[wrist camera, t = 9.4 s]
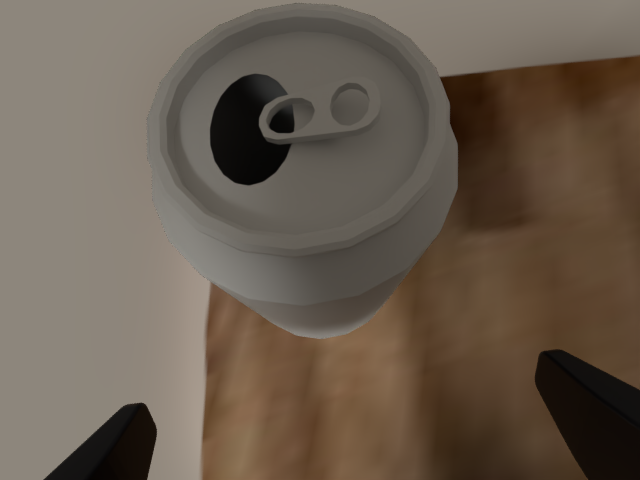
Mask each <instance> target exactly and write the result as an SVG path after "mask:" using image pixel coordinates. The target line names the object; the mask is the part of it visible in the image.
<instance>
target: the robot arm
mask: <svg viewBox="0 0 640 480" xmlns="http://www.w3.org/2000/svg"><path fill="white" fill-rule="evenodd" d="M535 384H536V387H537V389H538V391H539V393H540V395H541V397H542V399H543V401H544V402H545V404H546V406H547V408H548V410H549V412H550V414H551V416H552V417H553V419H554V421H555V423H556V425H557V427H558V429H559V431H560V433H561V434H562V436H563V438H564V440H565V442H566V444H567V446H568V447H569V449H570V451H571V453H572V455H573V456H574V458H575V460H576V461H577V463H578V464H579V466H580V468H581V469H582V471H583V472H584V474H585V475H586V477H587V478H588V480H640V390H639V389H637V388H635V387H633V386H631V385H629V384H627V383H625V382H623V381H621V380H619V379H617V378H616V377H614V376H612V375H610V374H608V373H606V372H604V371H602V370H600V369H598V368H596V367H594V366H592V365H590V364H588V363H587V362H585V361H583V360H581V359H579V358H577V357H575V356H573V355H571V354H569V353H567V352H565V351H563V350H559V349H556V350H548V351H543V352H541V353H540V354H539V358H538V363H537V368H536V373H535ZM156 437H157V429H156V425H155V423H154V421H153V418H152V416H151V414H150V412H149V410H148V408H147V406H146V405H145V404H144V403H134V404H127V405H125V406H123V407H122V408H121V409H119V410H118V412H116V413H115V414H114V415H113V416H112V417H111V418H110V419H109V420H108V421H107V422H105V423H104V424H103V425H102V426H101V427H100V428H99V429H98V430H97V431H96V432H95V433H93V434H92V435H91V436H90V437H89V438H88V439H87V440H86V441H85V442H84V443H83V444H82V445H81V446H79V447H78V448H77V449H76V450H75V451H74V452H73V453H72V454H71V455H70V456H69V457H68V458H67V459H65V460H64V461H63V462H62V463H61V464H60V465H59V466H58V467H57V468H56V469H55V470H53V471H52V472H51V473H50V474H49V475H48V476H47V477H46V478H45V479H44V480H147V478H148V473H149V469H150V464H151V460H152V455H153V451H154V446H155V442H156Z"/></svg>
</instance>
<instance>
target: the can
mask: <svg viewBox="0 0 640 480" xmlns="http://www.w3.org/2000/svg"><path fill="white" fill-rule="evenodd" d="M147 159H148V161H149V164H150V166H151V168H152V200H153V203H154V206H155V208H156V210H157V213H158V215H159V218H160V220H161V223H162V225H163V227H164V230H165V232H166V235H167V238H168V240H169V241H170V243H171V244H172V245H173V246H174V247H175V248H176V249H177V250H178V251H179V252H180V253H181V254H182V255H183V256H184V257H185V259H186V260H187V261H188V262H189V263H190V264H191V265H192V266H193V267H194V268H195V269H196V270H197V271H198V272H199V273H200V274H201V275H202V276H203V277H204V278H206V279H207V280H209V281H210V282H212V283H213V284H215V285H216V286H218V287H219V288H221V289H222V290H224V291H225V292H227V293H228V294H230V295H231V296H233V297H234V298H236V299H237V300H239V301H240V302H242V303H243V304H245V305H246V306H248V307H249V308H251V309H252V310H254V311H255V312H257V313H258V314H260V315H261V316H263V317H264V318H266V319H267V320H269V321H270V322H272V323H273V324H275V325H277V326H279V327H281V328H283V329H285V330H287V331H289V332H291V333H293V334H295V335H297V336H304V337H311V338H318V339H324V338H329V337H334V336H339V335H345V334H348V333H349V332H351V331H353V330H355V329H356V328H358V327H360V326H362V325H364V324H365V323H367V322H369V321H370V319H371V318H372V317H373V316H374V315H375V314H376V313H377V312H378V310H379V309H380V308H381V307H382V306H383V305H384V304H385V302H386V301H387V300H388V299H389V297H390V296H391V295H392V293H393V292H394V291H395V290H396V288H397V287H398V286H399V284H400V283H401V282H402V281H403V279H404V278H405V277H406V275H407V274H408V273H409V271H410V270H411V269H412V268H413V266H414V265H415V264H416V262H417V261H418V260H419V259H420V257H421V256H422V255H423V253H424V252H425V251H426V250H427V248H428V247H429V246H430V244H431V243H432V242H433V240H434V239H435V238H436V237H437V235H438V234H439V233H440V231H441V229H442V227H443V224H444V222H445V219H446V216H447V214H448V211H449V209H450V206H451V204H452V201H453V199H454V196H455V194H456V191H457V189H458V144H457V141H456V139H455V136H454V133H453V131H452V128H451V125H450V103H449V100H448V98H447V95H446V93H445V90H444V87H443V85H442V82H441V80H440V77H439V75H438V72H437V70H436V67H435V66H434V65H433V64H432V63H431V62H430V60H428V58H427V57H426V56H425V55H424V54H423V52H422V51H421V50H420V49H419V48H418V47H417V46H416V44H415V43H414V42H413V41H412V40H411V39H410V38H408V37H407V36H406V35H404V34H402V33H401V32H399V31H397V30H396V29H394V28H392V27H391V26H389V25H387V24H386V23H384V22H382V21H381V20H379V19H378V18H376V17H375V16H371V15H368V14H365V13H361V12H358V11H354V10H351V9H348V8H344V7H341V6H337V5H325V4H306V3H305V4H304V3H293V4H287V5H281V6H276V7H269V8H264V9H258V10H254V11H252V12H250V13H247V14H245V15H242V16H240V17H237V18H235V19H233V20H230V21H228V22H225V23H223V24H221V25H218V26H217V27H216V28H214V29H213V30H211V31H210V32H209V33H207V34H206V35H205V36H203V37H202V38H201V39H199V40H198V41H197V42H195V43H194V44H192V45H191V46H190V47H189V48H187V49H186V50H185V51H184V52H183V54H182V55H181V56H180V58H179V59H178V60H177V62H176V63H175V64H174V65H173V67H172V68H171V69H170V70H169V72H168V73H167V74H166V76H165V77H164V78H163V79H162V81H161V82H160V84H159V87H158V90H157V93H156V95H155V98H154V101H153V103H152V106H151V109H150V112H149V114H148V117H147Z"/></svg>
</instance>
